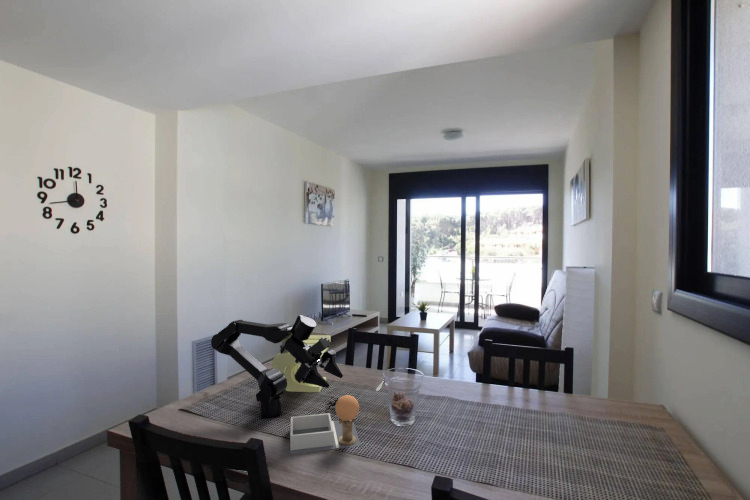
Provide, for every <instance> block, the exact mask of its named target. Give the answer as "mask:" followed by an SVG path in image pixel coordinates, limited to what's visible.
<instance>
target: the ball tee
mask: <svg viewBox="0 0 750 500" xmlns="http://www.w3.org/2000/svg"><path fill="white" fill-rule="evenodd" d="M338 421H339V424H341V423H342V436H341V437H340V438H339V443H340V444H342V445H352V444H354V443H355V442H356V437H355V436H353V435H352V422H353V423H356V417H355V418H354V419H352V421H351V420H350V421H343V420H342V419H340V418H339V419H338Z"/></svg>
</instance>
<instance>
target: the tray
mask: <svg viewBox="0 0 750 500" xmlns="http://www.w3.org/2000/svg"><path fill="white" fill-rule="evenodd" d="M332 421H333V420H332V416H331V412H327V413H320V414H319V413H318V414H307V415H298V416H297V415H295V416H290V431H289V434H290V437H289V439H290V441H289V442H290V444H289V447H290V448H289V451H290V450H297V449H306V448H315V447H324V446H333V445H334V431H333V426H332ZM321 427H328V428H329V431H325V432H315V433H306V434H296V435H293V430H301V429H311V428H321Z"/></svg>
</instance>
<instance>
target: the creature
mask: <svg viewBox="0 0 750 500" xmlns="http://www.w3.org/2000/svg"><path fill="white" fill-rule="evenodd" d="M331 400H332V401H331ZM331 400H329V402H328V403H326V405H325V406H328V407H327V409H325V412H326V411H329V410H330V408H331V407H332V408H333V407H335V406H336V403H337V401H338V400H339V398H338V397H336V399H334V398H331ZM333 411H334V412H336V410H335V409H334V410H333Z"/></svg>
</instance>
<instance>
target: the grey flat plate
mask: <svg viewBox="0 0 750 500" xmlns="http://www.w3.org/2000/svg"><path fill="white" fill-rule="evenodd" d="M331 421H332V426H333V431H334V445H333V446H324V447H315V448H306V449H297V450H290V449H289V455H294V454H295V455H296V454H303V453H312V452H319V451H320V452H321V451H327V450H329V451H330V450H339V449H346V448H347V449H348V448H353V447H354V448H356V447H362V445H361V441H360V438H359V436H358V432H357V429H356V425H355V422H352V435H353V436H355V437H356V442H355V443H354V444H352V445H342V444H340V443H339V438H340V437H341V436H342V423H341V424H339V420H331ZM343 421H344V420H343ZM351 421H352V420H351ZM325 431H329V428H328V427H321V428H311V429H301V430H293V435H296V434H306V433H315V432H325Z"/></svg>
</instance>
